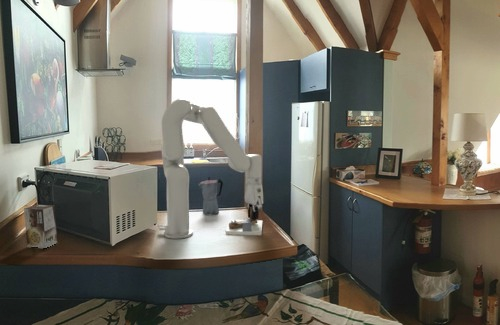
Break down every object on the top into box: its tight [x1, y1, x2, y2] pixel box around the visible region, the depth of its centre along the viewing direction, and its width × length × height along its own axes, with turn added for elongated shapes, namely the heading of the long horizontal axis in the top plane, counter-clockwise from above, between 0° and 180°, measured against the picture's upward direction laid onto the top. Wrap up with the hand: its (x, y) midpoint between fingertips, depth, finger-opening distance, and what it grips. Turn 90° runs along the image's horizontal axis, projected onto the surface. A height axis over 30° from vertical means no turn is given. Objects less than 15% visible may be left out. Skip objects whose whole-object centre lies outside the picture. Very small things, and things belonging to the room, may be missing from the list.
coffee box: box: [23, 204, 58, 249], centre depth 138 cm, size 9×6×16 cm
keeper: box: [230, 218, 252, 231], centre depth 157 cm, size 10×6×4 cm, turn 86°
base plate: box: [225, 219, 263, 236], centre depth 162 cm, size 16×18×2 cm
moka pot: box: [198, 176, 224, 215], centre depth 189 cm, size 10×15×20 cm, turn 133°
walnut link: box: [228, 206, 258, 228], centre depth 161 cm, size 15×4×8 cm, turn 125°
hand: (253, 217), depth 164 cm, fingers closed on walnut link, 3 cm apart
